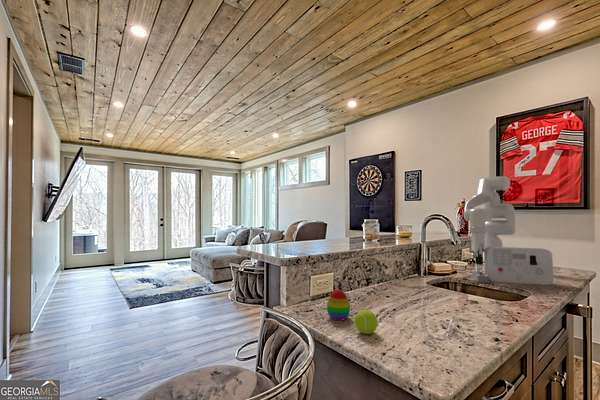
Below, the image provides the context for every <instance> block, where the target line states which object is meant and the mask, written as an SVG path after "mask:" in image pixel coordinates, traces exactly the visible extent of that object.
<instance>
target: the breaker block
mask: <svg viewBox="0 0 600 400" xmlns="http://www.w3.org/2000/svg"><path fill="white" fill-rule="evenodd" d="M471 277H472V278H473V279H474V280H475V281H476V282H477V283H482V284H483V283H484V284H489V283H490V280H489V276H488V275H486V274H485V271H483V270H480V274H478V273H477V272H476V269H474V270H473V269H472V270H471Z"/></svg>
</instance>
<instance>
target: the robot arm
mask: <svg viewBox="0 0 600 400" xmlns="http://www.w3.org/2000/svg"><path fill="white" fill-rule="evenodd" d="M510 186H511V180H510V178H509V177H508V176H505V175H504V176H503V175H502V176H501V175H500V176H488V177H487V176H486V177H482V178H479V179H478V180H477V188H476V193H475V195H473V196H472V197H471V198H470V199H469V200H467V202H466V203H465V205H464V210H463V218H464V220H465V221H466V222H469V230H470V231H469V232H470V234H471V239H470V241H471V243H470V244H471V245H470V246H471V247H470V248H471V251H473V252H474V254H475V256H474V261H475V265H476V264H480V265H482V267H483V268H484V269H485V264H484V260H483V258H484V255H483V254H484V251H485V249H486V248H487V247H503V240H502V239H501V238H500V237H499V236H514V235H515V233H516V214H515V213H516V212H515V208H514V206H513V204H511V203H501V201H500V200H501V199H500V197H501V196H500V194H499V193H498V192H497V191H506V190H509V189H510ZM481 205H484V208H481V207H480V208H479V207H478V206H481ZM476 207H478V208H476ZM492 219H495V220H492ZM498 219H499V220H498ZM500 219H501V220H500ZM502 219H504V220H502ZM483 264H484V265H483Z"/></svg>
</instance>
